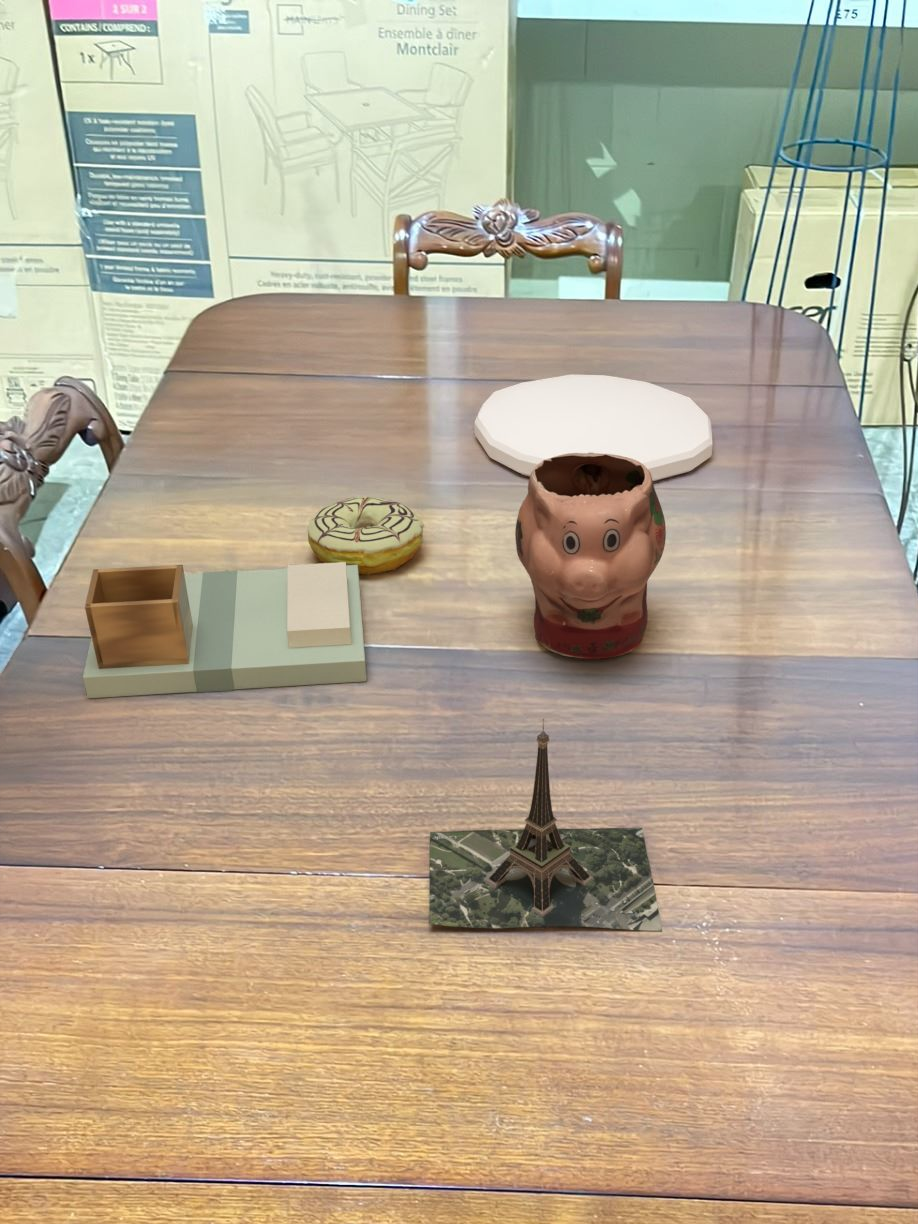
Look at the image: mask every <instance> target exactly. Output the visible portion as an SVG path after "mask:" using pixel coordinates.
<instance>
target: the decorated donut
mask: <svg viewBox="0 0 918 1224" xmlns="http://www.w3.org/2000/svg"><path fill="white" fill-rule="evenodd" d="M308 524H309V525H308V526H307V541H308V544H309V547H310V548H311V550H312V552H313V555H315V556H316V557H317V559H318V560H319V561H320V562H322V563H339V562H346V565H358V574H359V575H371V574H380V573H384V572H385V573H386V572H387V571H395V570H396V569H398V568H399V567H401V566H402V565H404V564H405V563H406V562H408V561H410V560H411V559H412V558H413V557H414V556H415V554H416V552H417V551H418V549H419V547H420V545H421V544H422V541H423V537H424V534H423V533H424V529H423V528H424V527H425V523H424V522H423V520H422V519H421V518H420V517H419V515H418V514H417V513H416V512H414V511H413V510H412V509H411V508H409V507H408V506H406V505H405V504H402V503H401V502H398V501H393V500H389V499H385V498H382V497H372V496H355V497H354V496H353V497H348V498H346V499H343V500H340V501H337V502H335V503H333V504H331V505H329V506H324V507H323V508H322V509H320V510H319V511H318V512H316V513H315V514H314V515H313V517H312V518H311V519H310V520H309V523H308Z"/></svg>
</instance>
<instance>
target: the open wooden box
mask: <svg viewBox="0 0 918 1224" xmlns="http://www.w3.org/2000/svg"><path fill="white" fill-rule="evenodd" d="M184 574H185V571H184V565H183V564H169V565H152V566H133V567H114V568H113V567H112V568H94V569H92V573H91V578H90V582H89V586H88V591H87V595H86V600H85V603H84V610H85V615H86V620H87V623H88V628H89V633H90V638H91V637H92V642H93V646H94V650H95V655H96V659H97V663H98V668H99V669H106V668H122V667H139V666H156V665H173V664H188V663H189V656H190V647H191V637H192V628H193V623H192V617H191V611H190V606H189V600H188V594H187V588H186V582H185V576H184Z"/></svg>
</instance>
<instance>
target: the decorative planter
mask: <svg viewBox="0 0 918 1224" xmlns="http://www.w3.org/2000/svg"><path fill="white" fill-rule="evenodd" d="M666 527H667V526H666V518H665V515H664V512H663V508H662V504H661V502H660V500H659V497H658V494H657V492H656V489H655V485H654V481H653V480H652V477H651V474H650V472H649V470H648V469H647V468H646V467H645V466H644V465H643V464H642V463H640V462H639V461H636V460H634V459H631V458H627V457H623V456H619V455H612V454H600V453H568V454H563V455H559V456H556V457H553V458H549V459H545V460H543V461H542V462H540V463H539V464H538V465H537V466H535V468H534V469H533V471H532V472H531V475H530V477H529V479H528V483H527V493H526V496H525V498H524V500H523V501H522V503H521V505H520V507H519V511H518V513H517V518H516V522H515V529H514V532H515V533H514V534H515V546H516V548H515V549H516V555H517V557H518V560H519V561H520V563H521V564H522V566H523V568H524V569H525V571H526V572H527V575H528V576H529V579H530V582H531V585H532V589H533V593H534V602H535V603H534V604H535V605H534V606H535V607H534V615H533V628H534V637H535V640H536V641H537V642H538V643H539V644H540V645H542V646H543V648H544V649H547V650H549V651H550V652H552V653H555V654H559V655H561V656H563V657H564V656H565V657H570V658H579V659H606V658H613V657H617V656H618V657H619V656H622V655H626V654H628V653H631V652H632V651H634V650H635V649H636V648H637V647H638V646H639V645H640V644H641V642H642V640H643V638H644V637H645V633H646V630H647V626H648V602H647V601H648V600H647V597H648V581H649V579H650V577H651V576H652V574H653V573H654V571H655V570H656V568H657V567H658V564H659V563H660V561H661V559H662V557H663V554H664V551H665V546H666V539H667V538H666V537H667V528H666Z"/></svg>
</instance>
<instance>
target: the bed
mask: <svg viewBox="0 0 918 1224" xmlns="http://www.w3.org/2000/svg"><path fill="white" fill-rule="evenodd" d="M286 567H287V568H271V569H252V570H221V571H203V572H197V573H196V572H195V573H184V576H185V582H186V588H187V594H188V600H189V606H190V611H191V617H192V623H193V628H192V637H191V647H190V656H189V663H188V664H173V665H156V666H139V667H122V668H106V669H99V668H98V663H97V659H96V655H95V650H94V646H93V642H92V637H91V636H90V641H89V646H88V651H87V656H86V660H85V666H84V669H83V674H82V681H83V685H84V689H85V691H86V692H85V693H86V696H87V699H99V698H100V699H101V698H116V697H133V696H134V697H135V696H147V695H150V696H151V695H165V694H181V693H211V692H213V693H214V692H215V693H216V692H225V691H226V692H229V691H235V690H246V689H247V690H248V689H263V688H264V689H265V688H279V687H295V686H313V685H329V684H344V683H345V684H346V683H362V682H367V681H368V680H367V666H366V665H367V664H366V653H365V642H364V627H363V616H362V615H363V614H362V601H361V590H360V589H361V588H360V577H359V576H360V574H358V565H346V562H339V563H323V562H322V563H304V564H287V566H286Z"/></svg>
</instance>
